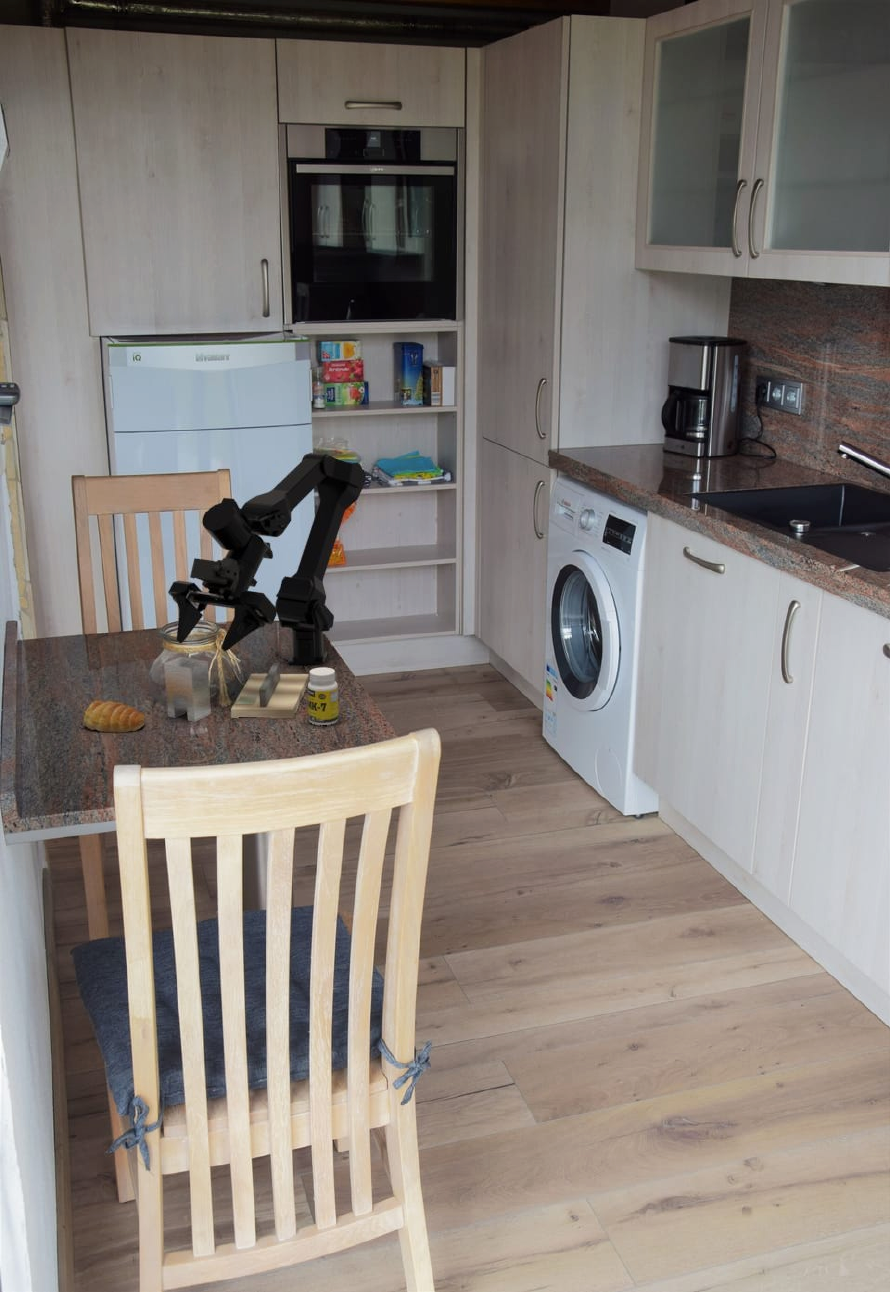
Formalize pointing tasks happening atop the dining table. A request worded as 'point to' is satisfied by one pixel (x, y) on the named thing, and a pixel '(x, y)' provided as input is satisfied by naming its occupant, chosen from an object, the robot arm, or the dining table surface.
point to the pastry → (113, 717)
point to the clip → (187, 688)
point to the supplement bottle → (322, 697)
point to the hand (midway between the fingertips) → (200, 645)
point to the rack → (271, 695)
